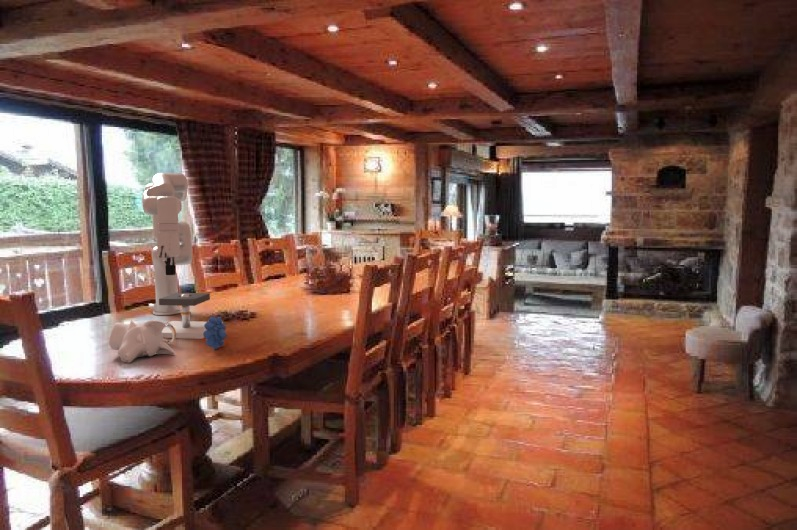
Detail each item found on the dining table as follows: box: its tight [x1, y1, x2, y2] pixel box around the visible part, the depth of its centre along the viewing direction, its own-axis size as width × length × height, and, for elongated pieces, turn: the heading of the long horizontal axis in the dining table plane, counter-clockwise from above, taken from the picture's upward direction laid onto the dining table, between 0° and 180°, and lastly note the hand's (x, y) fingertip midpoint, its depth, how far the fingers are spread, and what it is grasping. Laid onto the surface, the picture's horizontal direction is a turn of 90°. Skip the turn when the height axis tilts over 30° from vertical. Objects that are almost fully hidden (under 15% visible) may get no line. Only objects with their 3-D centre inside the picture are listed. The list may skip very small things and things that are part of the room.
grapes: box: [203, 316, 228, 350], centre depth 191 cm, size 12×7×12 cm, turn 163°
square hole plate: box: [159, 292, 211, 307], centre depth 216 cm, size 14×14×2 cm
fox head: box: [108, 319, 176, 364], centre depth 180 cm, size 14×17×20 cm
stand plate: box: [162, 320, 224, 340], centre depth 217 cm, size 22×20×2 cm
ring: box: [163, 321, 177, 346], centre depth 198 cm, size 7×3×8 cm, turn 67°
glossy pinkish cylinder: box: [180, 294, 191, 328], centre depth 216 cm, size 4×4×13 cm
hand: (170, 274), depth 214 cm, fingers closed
